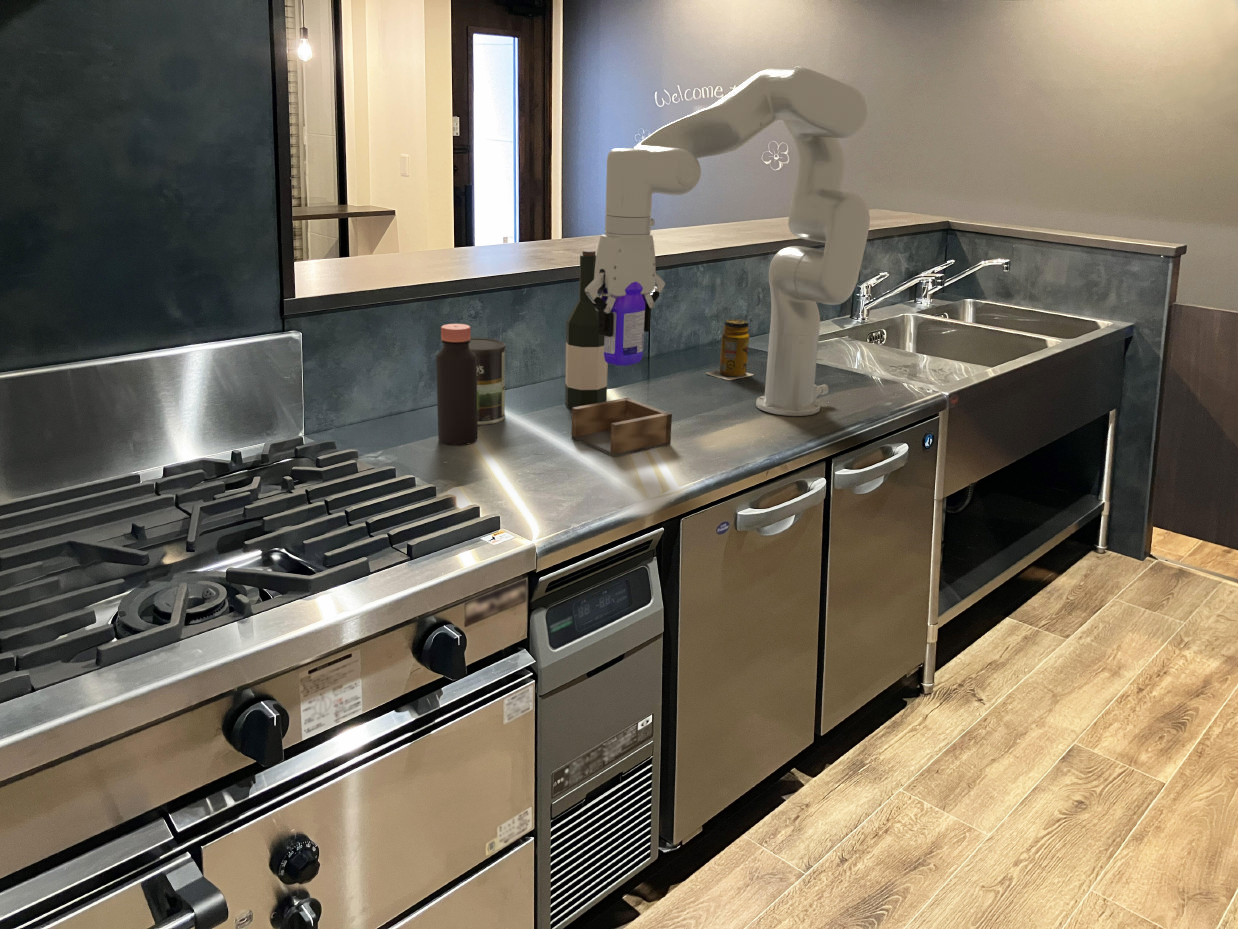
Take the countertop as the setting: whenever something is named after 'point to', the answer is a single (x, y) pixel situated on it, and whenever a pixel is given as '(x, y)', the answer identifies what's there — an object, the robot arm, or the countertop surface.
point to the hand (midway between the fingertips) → (624, 332)
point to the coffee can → (490, 379)
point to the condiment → (733, 351)
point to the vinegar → (456, 387)
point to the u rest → (621, 426)
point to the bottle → (627, 328)
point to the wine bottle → (585, 345)
